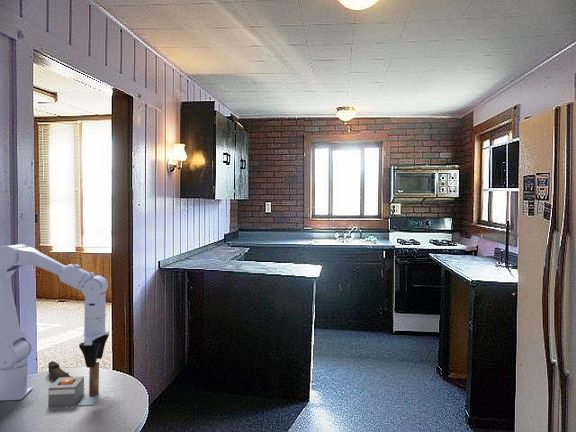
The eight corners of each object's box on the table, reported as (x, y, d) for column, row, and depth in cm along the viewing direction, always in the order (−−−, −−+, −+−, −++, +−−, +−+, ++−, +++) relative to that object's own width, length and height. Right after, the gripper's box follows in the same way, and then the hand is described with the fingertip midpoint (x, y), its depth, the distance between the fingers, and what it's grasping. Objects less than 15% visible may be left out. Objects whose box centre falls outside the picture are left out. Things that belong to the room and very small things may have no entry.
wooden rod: (88, 395, 129) (88, 365, 129) (90, 392, 132) (91, 362, 132) (97, 395, 130) (97, 364, 130) (99, 391, 132) (100, 361, 132)
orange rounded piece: (58, 391, 125) (58, 382, 125) (62, 386, 128) (62, 378, 128) (70, 390, 125) (70, 382, 125) (74, 386, 128) (74, 378, 128)
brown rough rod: (76, 388, 135) (76, 373, 135) (61, 392, 132) (62, 376, 132) (59, 372, 149) (59, 358, 149) (45, 374, 146) (46, 360, 146)
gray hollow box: (48, 406, 122) (48, 388, 122) (58, 394, 130) (58, 377, 130) (74, 405, 123) (75, 387, 123) (83, 393, 131) (84, 376, 131)
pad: (77, 406, 122) (77, 405, 122) (83, 398, 127) (83, 397, 127) (92, 405, 123) (92, 404, 123) (97, 398, 128) (97, 397, 128)
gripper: (102, 322, 124) (102, 370, 124) (114, 311, 139) (114, 354, 139) (76, 323, 123) (75, 371, 123) (91, 312, 138) (90, 355, 138)
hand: (94, 362), depth 131 cm, fingers open, 7 cm apart
